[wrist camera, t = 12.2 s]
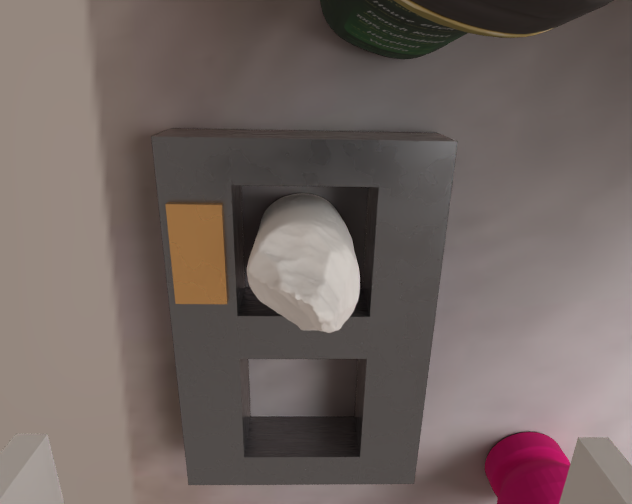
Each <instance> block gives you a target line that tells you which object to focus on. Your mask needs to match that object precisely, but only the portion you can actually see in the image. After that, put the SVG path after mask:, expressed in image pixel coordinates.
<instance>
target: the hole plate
mask: <svg viewBox="0 0 632 504" xmlns="http://www.w3.org/2000/svg"><path fill="white" fill-rule="evenodd" d="M151 139H152V148H153V158H154V167H155V176H156V186H157V195H158V204H159V214H160V223H161V232H162V242H163V251H164V261H165V270H166V279H167V289H168V298H169V307H170V317H171V326H172V335H173V345H174V354H175V363H176V373H177V382H178V391H179V401H180V410H181V420H182V429H183V438H184V448H185V457H186V466H187V476H188V485H291V484H414V480H415V472H416V464H417V456H418V448H419V441H420V433H421V425H422V417H423V409H424V401H425V394H426V386H427V378H428V370H429V362H430V354H431V346H432V339H433V331H434V323H435V315H436V307H437V299H438V292H439V284H440V276H441V268H442V260H443V252H444V244H445V237H446V229H447V221H448V213H449V205H450V197H451V190H452V182H453V174H454V166H455V158H456V150H457V143H458V141H455V140H453V139H451V138H448V137H446V136H444V135H441V134H439V133H421V132H363V131H305V130H247V129H189V128H171V129H169V130H166V131H164V132H161V133H159V134H156V135H154V136H151ZM241 185H259V186H332V187H368V200H367V217H366V233H365V249H364V266H363V282H362V288H360V294H359V298H358V302H357V304H356V307H355V309H354V311H353V313H352V314H351V316H350V317H349V318H348V320H347V321H346V322H345V323H344V324H343V325H342V327H341V329H339V330H337V331H334V332H331V333H327V332H323V331H319V330H317V331H315V330H308V331H307V330H301V329H300V328H299V327H298V326H297V325H296V324H294V323H293V322H291V321H289V320H288V319H286V318H285V317H283V316H282V315H280V314H278V313H277V312H276V311H274V310H273V309H271V308H269V307H268V306H267V305H265V304H263V303H262V302H260V301H259V300H258V298H257V297H256V296H255V294H254V293H253V291H252V290H251V288H245V264H244V238H243V213H242V188H241ZM248 359H358V364H357V380H356V397H355V413H354V417H251V415H250V390H249V365H248Z"/></svg>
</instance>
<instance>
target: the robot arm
mask: <svg viewBox="0 0 632 504" xmlns="http://www.w3.org/2000/svg"><path fill="white" fill-rule="evenodd" d="M0 504H64V500H63V495H62V491H61V487H60V484H59V479H58V475H57V471H56V467H55V463H54V459H53V455H52V450H51V446H50V442H49V438H48V434H15V435H14V437H13V438H12V439H11V440H10V442H9V443H8V444H7V445H6V446H5V448H4V449H3V450H2V451H1V452H0ZM559 504H632V466H631V465H630V463H629V462H628V461H627V460H626V458H625V457H624V456H623V455H622V454H621V452H620V451H619V450H618V449H617V447H616V446H615V445H614V444H613V443H612V441H611V440H610V439H609V438H579V437H578V440H577V443H576V447H575V450H574V454H573V457H572V461H571V464H570V468H569V471H568V475H567V478H566V482H565V485H564V488H563V492H562V495H561V499H560V502H559Z"/></svg>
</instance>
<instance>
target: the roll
mask: <svg viewBox="0 0 632 504" xmlns="http://www.w3.org/2000/svg"><path fill="white" fill-rule="evenodd" d="M247 277H248V283H249V285H250V288H251V290H252V291H253V293H254V294H255V296H256V297H257V298H258V300H259V301H260V302H262V303H263V304H265V305H267V306H268V307H269V308H271V309H273V310H274V311H276V312H277V313H278V314H280V315H282V316H283V317H285V318H286V319H288V320H289V321H291V322H293V323H294V324H296V325H297V326H298V327H299V328H300V329H301V330H307V331H308V330H315V331H317V330H319V331H323V332H327V333H331V332H334V331H337V330H339V329H341V327H342V325H343V324H344V323H345V322H346V321H347V320H348V318H349V317H350V316H351V314H352V313H353V311H354V309H355V307H356V304H357V302H358V298H359V294H360V272H359V266H358V262H357V259H356V255H355V252H354V246H353V241H352V238H351V235H350V233H349V231H348V228H347V226H346V224H345V223H344V221H343V219H342V218H341V216H340V214H339V213H338V211H337V210H336V209H335V207H334V206H333V205H332V204H331V203H330V202H329V201H328V200H326V199H324V198H322V197H320V196H316V195H312V194H307V193H296V194H291V195H288V196H284V197H282V198H280V199H278V200H277V201H275V202H273V203H272V204H271V205H270V206H269V207H268V208H267V209H266V211H265V212H264V215H263V217H262V219H261V222H260V227H259V231H258V234H257V237H256V240H255V242H254V245H253V248H252V251H251V254H250V257H249V261H248V265H247Z"/></svg>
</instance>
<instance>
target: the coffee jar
mask: <svg viewBox="0 0 632 504" xmlns="http://www.w3.org/2000/svg"><path fill="white" fill-rule="evenodd" d="M612 1H614V0H320V2H321V7H322V11H323V14H324V16H325V19H326V21H327V23H328V24H329V26H330V27H331V28H332V29H333V30H334V32H335V33H336V34H338V35H339V36H340V37H341V38H343V39H344V40H346V41H348V42H349V43H351V44H353V45H355V46H358V47H360V48H363V49H365V50H368V51H370V52H373V53H376V54H379V55H382V56H387V57H391V58H398V59H411V58H416V57H420V56H423V55H426V54H429V53H431V52H433V51H435V50H437V49H439V48H441V47H443V46H445V45H447V44H448V43H450V42H452V41H454V40H456V39H457V38H459V37H461V36H463V35H465V34H467V33H473V34H478V35H483V36H492V37H501V38H515V37H527V36H533V35H536V34H540V33H543V32H547V31H549V30H551V29H553V28H555V27H558V26H560V25H562V24H565V23H566V22H569V21H571V20H573V19H575V18H578V17H580V16H582V15H584V14H586V13H589V12H591V11H594V10H596V9H598V8H600V7H603V6H605V5H607V4H608V3H610V2H612Z"/></svg>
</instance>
